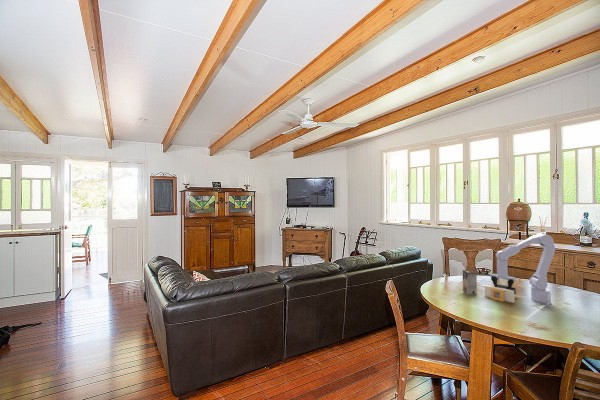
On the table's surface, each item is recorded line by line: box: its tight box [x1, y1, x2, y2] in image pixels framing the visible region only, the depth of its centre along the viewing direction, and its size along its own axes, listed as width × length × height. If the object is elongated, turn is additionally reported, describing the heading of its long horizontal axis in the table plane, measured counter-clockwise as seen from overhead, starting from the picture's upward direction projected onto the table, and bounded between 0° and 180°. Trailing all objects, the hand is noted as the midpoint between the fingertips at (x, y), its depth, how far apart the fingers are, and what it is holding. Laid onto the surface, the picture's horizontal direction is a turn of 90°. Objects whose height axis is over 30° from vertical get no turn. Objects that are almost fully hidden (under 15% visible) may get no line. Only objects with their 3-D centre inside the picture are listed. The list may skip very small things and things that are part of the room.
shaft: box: [494, 283, 517, 296], centre depth 190 cm, size 11×18×4 cm, turn 126°
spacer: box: [490, 288, 505, 303], centre depth 186 cm, size 7×2×7 cm, turn 36°
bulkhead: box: [484, 284, 515, 304], centre depth 188 cm, size 16×2×9 cm, turn 36°
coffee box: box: [462, 269, 478, 295], centre depth 202 cm, size 9×6×16 cm
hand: (502, 289), depth 191 cm, fingers open, 7 cm apart
